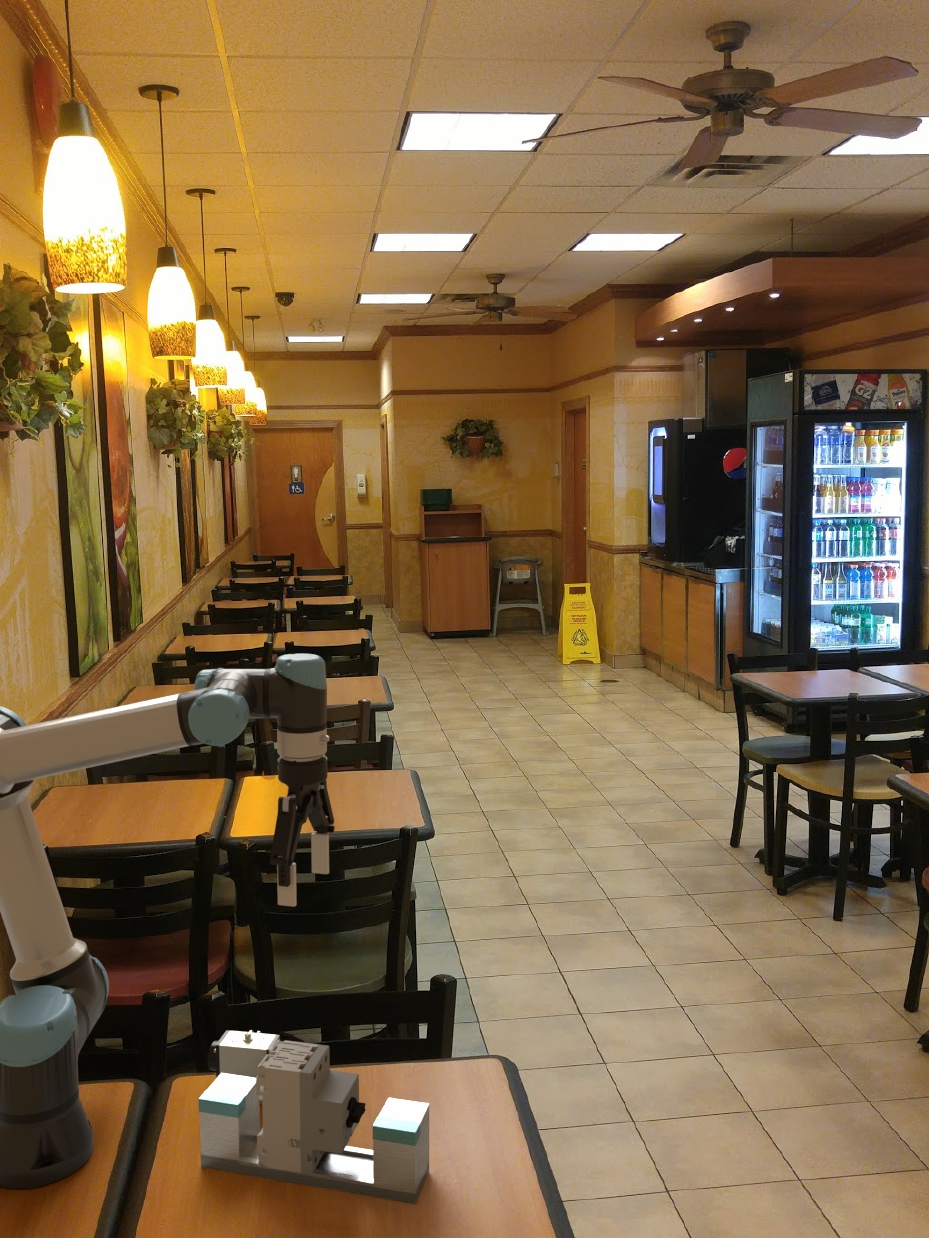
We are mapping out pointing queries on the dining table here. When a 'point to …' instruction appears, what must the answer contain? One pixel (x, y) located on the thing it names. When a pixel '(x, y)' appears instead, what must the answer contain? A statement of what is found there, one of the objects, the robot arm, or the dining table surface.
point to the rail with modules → (375, 1173)
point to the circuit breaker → (304, 1106)
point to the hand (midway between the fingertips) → (304, 888)
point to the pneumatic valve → (240, 1053)
